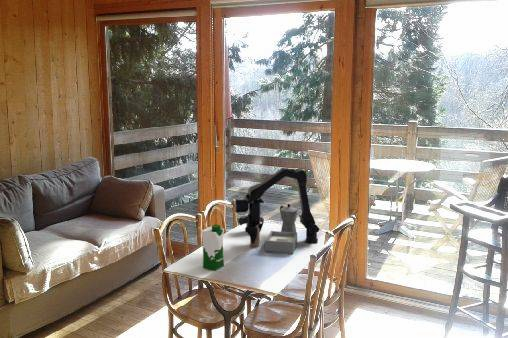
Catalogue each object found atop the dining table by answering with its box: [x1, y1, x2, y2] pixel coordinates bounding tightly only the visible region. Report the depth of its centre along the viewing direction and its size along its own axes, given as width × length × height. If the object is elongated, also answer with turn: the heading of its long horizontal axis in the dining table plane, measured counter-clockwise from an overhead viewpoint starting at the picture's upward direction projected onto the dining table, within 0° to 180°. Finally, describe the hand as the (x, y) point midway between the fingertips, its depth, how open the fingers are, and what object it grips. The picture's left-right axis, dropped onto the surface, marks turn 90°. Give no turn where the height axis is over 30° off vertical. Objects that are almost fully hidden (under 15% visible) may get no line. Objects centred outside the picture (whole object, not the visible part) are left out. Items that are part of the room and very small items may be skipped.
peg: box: [249, 229, 261, 249], centre depth 247 cm, size 4×4×9 cm
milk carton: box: [200, 224, 225, 272], centre depth 219 cm, size 9×9×20 cm
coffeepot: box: [279, 203, 298, 233], centre depth 263 cm, size 15×9×18 cm, turn 29°
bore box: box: [264, 230, 298, 255], centre depth 244 cm, size 16×14×6 cm
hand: (255, 240), depth 247 cm, fingers open, 9 cm apart
